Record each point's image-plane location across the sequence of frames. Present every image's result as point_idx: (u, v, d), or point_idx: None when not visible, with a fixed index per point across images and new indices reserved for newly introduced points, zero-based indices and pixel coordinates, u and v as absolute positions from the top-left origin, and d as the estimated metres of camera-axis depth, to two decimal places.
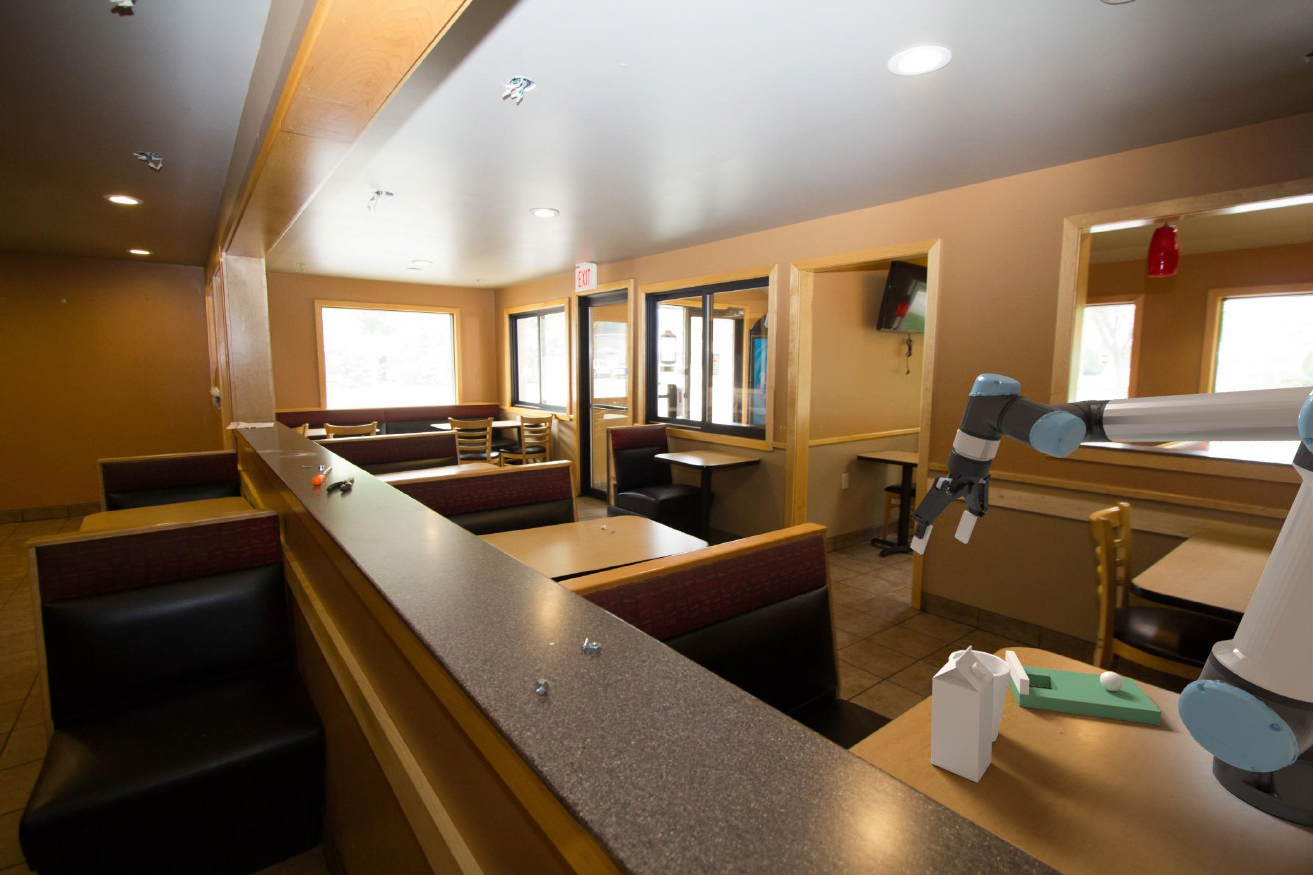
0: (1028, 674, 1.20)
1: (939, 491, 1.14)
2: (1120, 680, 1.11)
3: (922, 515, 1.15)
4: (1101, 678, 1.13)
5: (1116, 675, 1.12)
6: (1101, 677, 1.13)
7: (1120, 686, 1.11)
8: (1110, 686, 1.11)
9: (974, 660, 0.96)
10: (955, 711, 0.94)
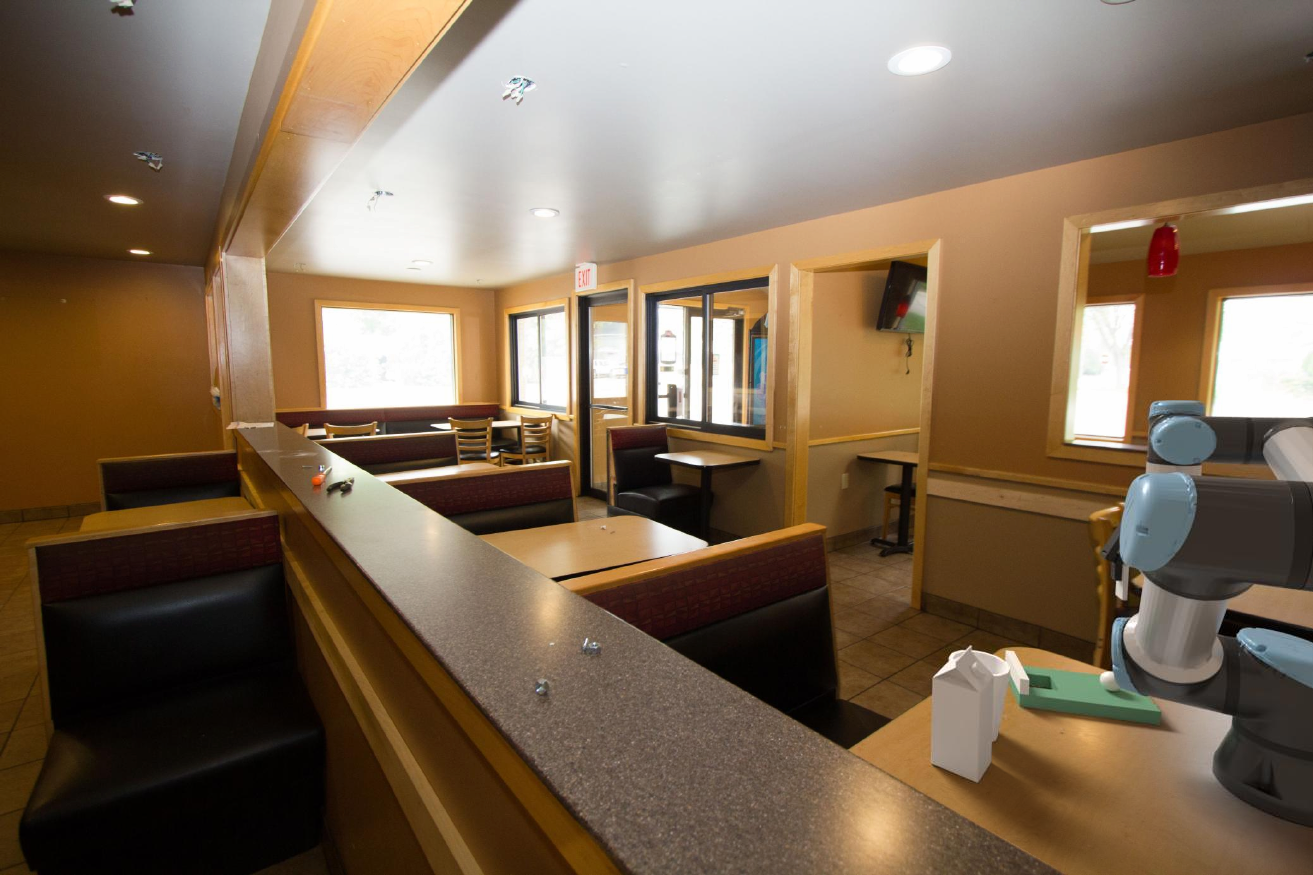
0: (1028, 674, 1.20)
1: None
2: None
3: (1107, 550, 1.10)
4: (1101, 678, 1.13)
5: None
6: (1101, 677, 1.13)
7: None
8: (1110, 686, 1.11)
9: (974, 660, 0.96)
10: (955, 711, 0.94)
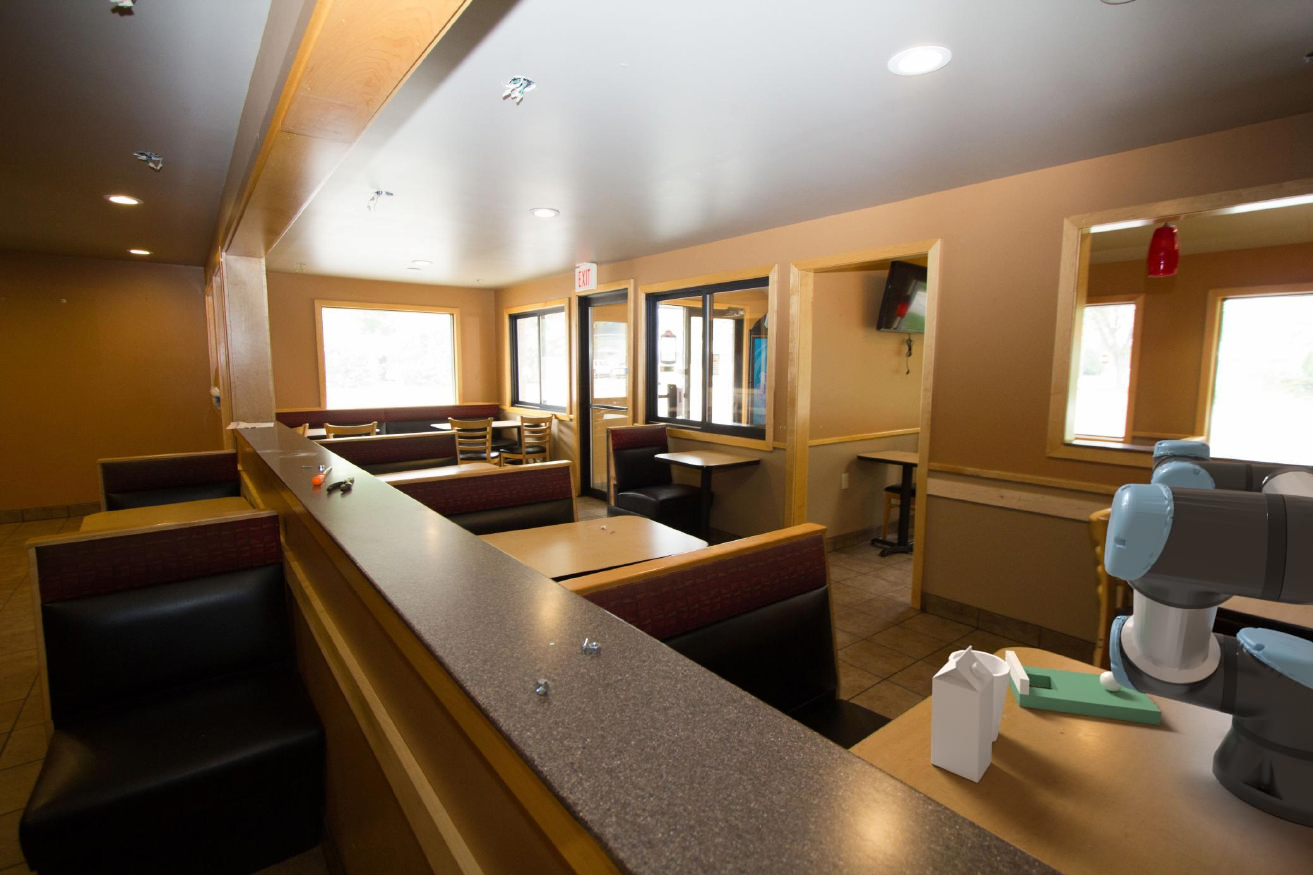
0: (1028, 674, 1.20)
1: None
2: None
3: None
4: (1101, 678, 1.13)
5: None
6: (1101, 677, 1.13)
7: (1120, 686, 1.11)
8: (1110, 686, 1.11)
9: (974, 660, 0.96)
10: (955, 711, 0.94)
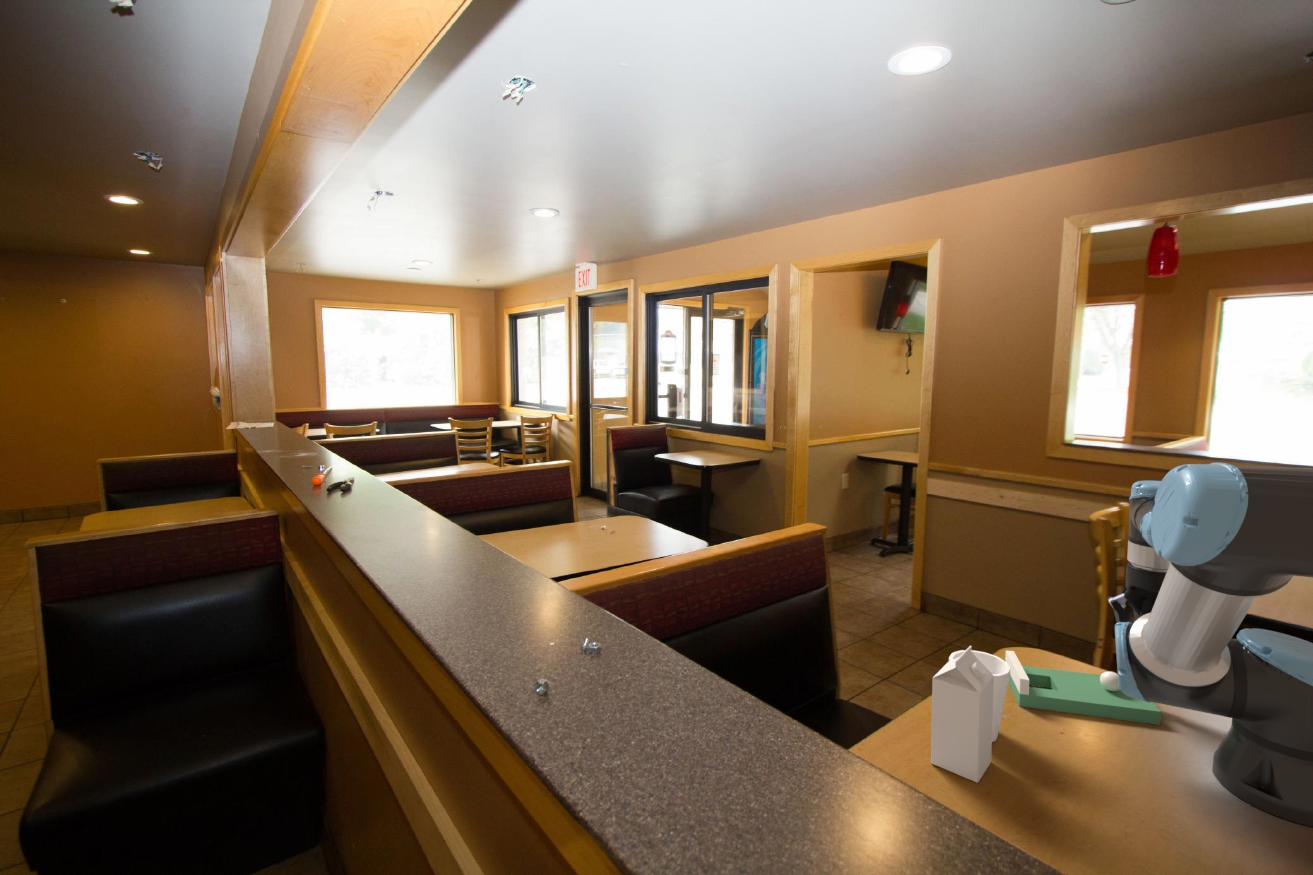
0: (1028, 674, 1.20)
1: (1117, 613, 1.11)
2: None
3: None
4: (1101, 678, 1.13)
5: (1116, 675, 1.12)
6: (1101, 677, 1.13)
7: None
8: (1110, 686, 1.11)
9: (974, 660, 0.96)
10: (955, 711, 0.94)
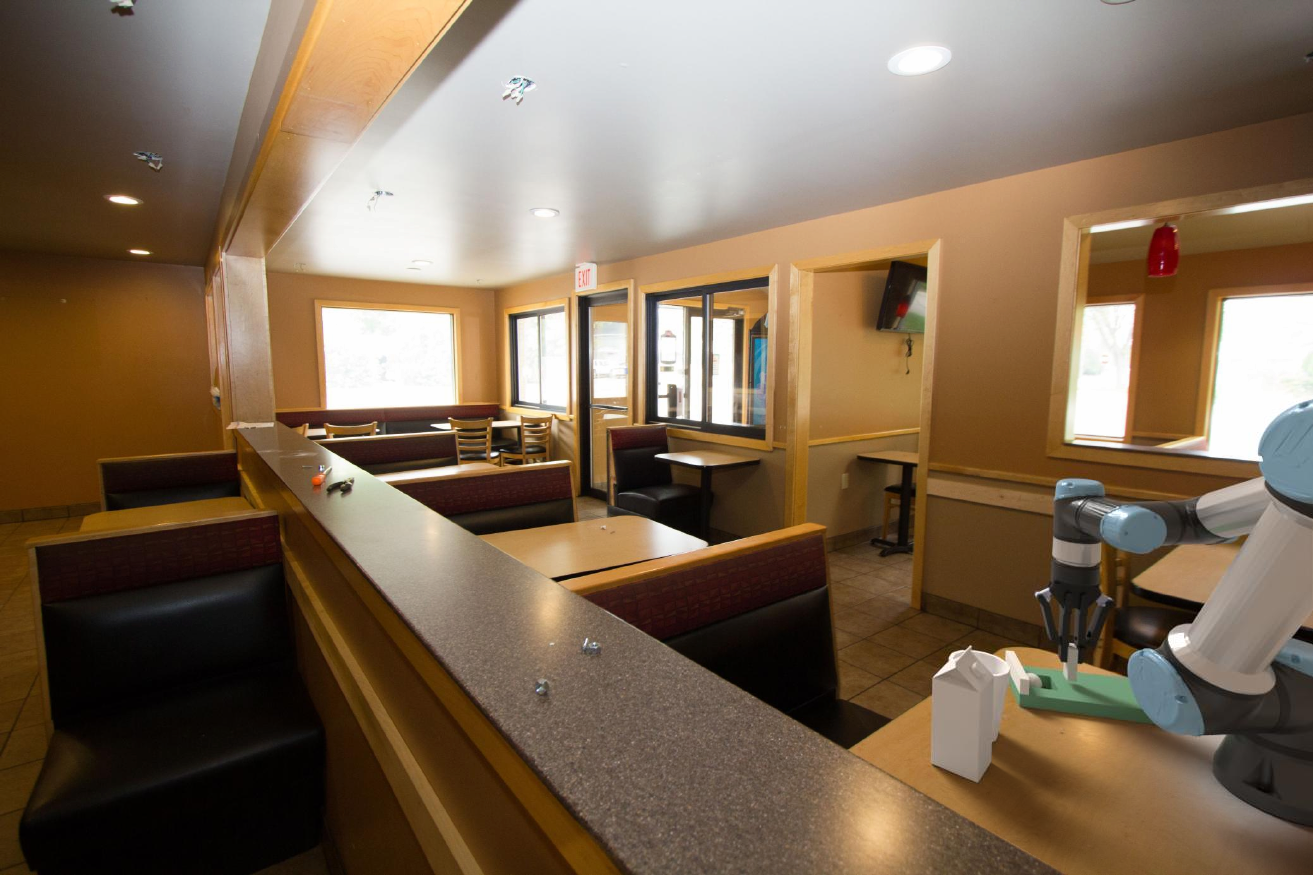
0: None
1: (1042, 606, 1.15)
2: None
3: (1049, 634, 1.15)
4: None
5: None
6: None
7: (1034, 681, 1.16)
8: None
9: (974, 660, 0.96)
10: (954, 711, 0.94)
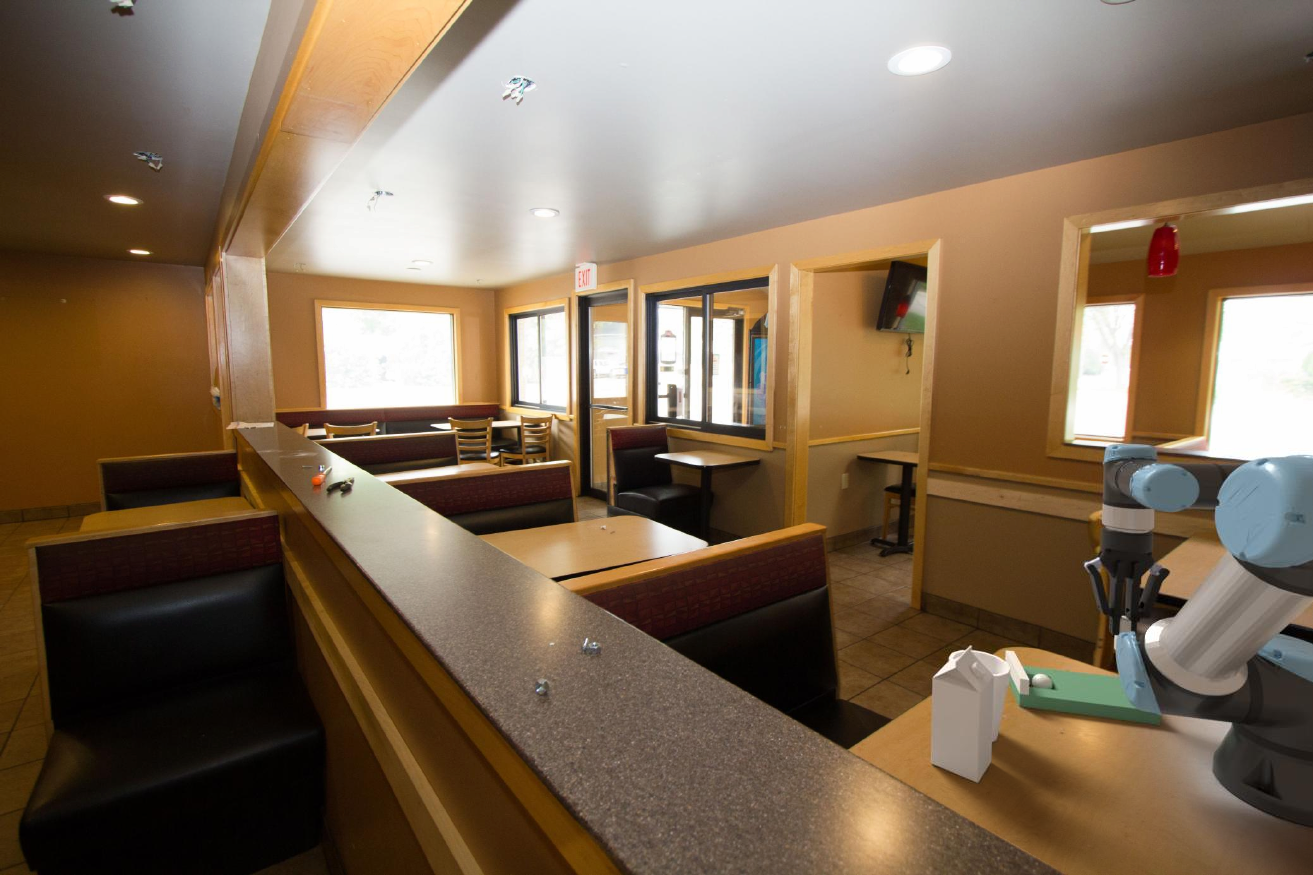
0: (1028, 674, 1.20)
1: (1092, 576, 1.11)
2: (1046, 679, 1.16)
3: (1099, 605, 1.11)
4: (1033, 685, 1.18)
5: (1041, 676, 1.17)
6: (1032, 684, 1.18)
7: (1050, 685, 1.16)
8: None
9: (974, 660, 0.96)
10: (955, 711, 0.94)
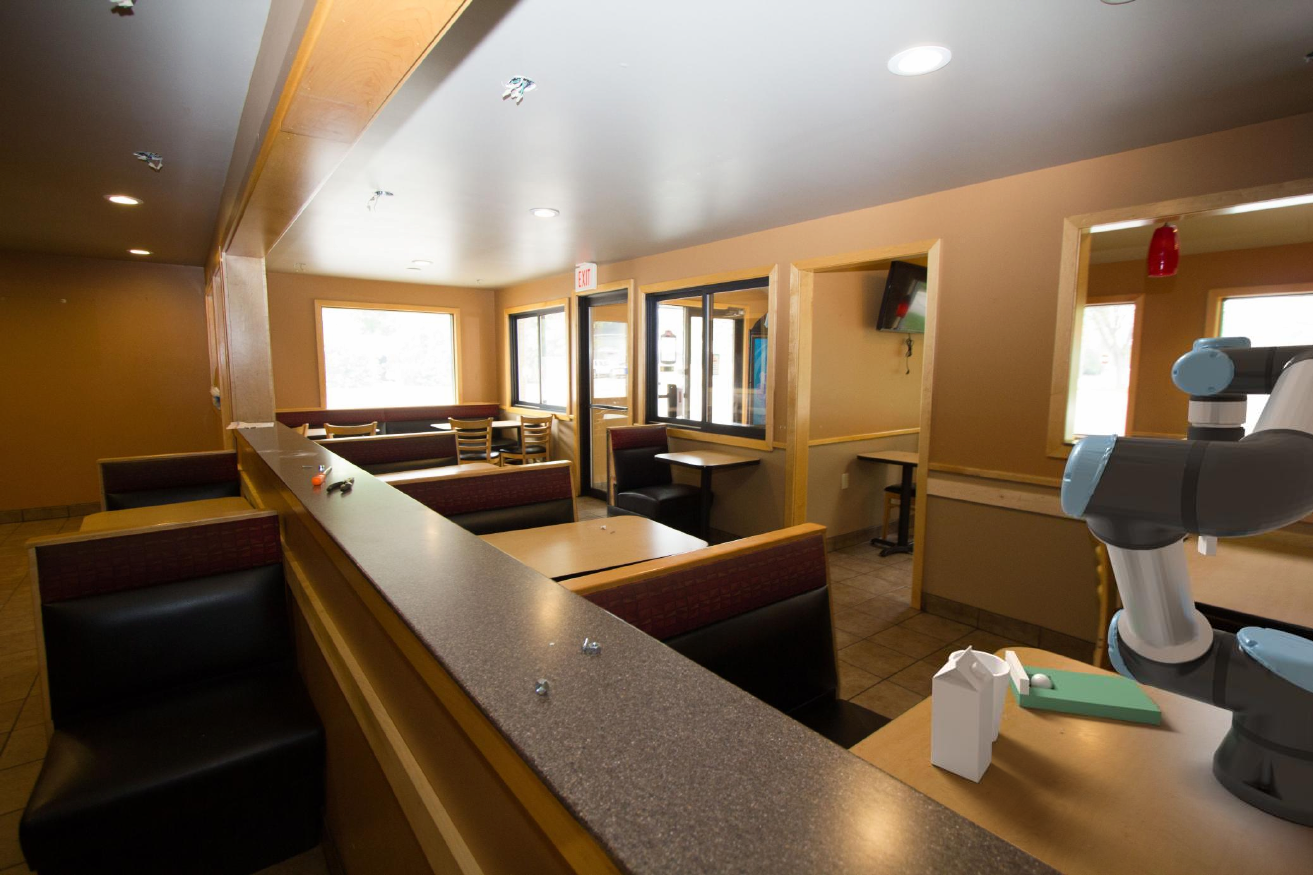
0: (1028, 674, 1.20)
1: None
2: (1045, 679, 1.16)
3: None
4: (1032, 685, 1.18)
5: (1040, 676, 1.17)
6: (1031, 684, 1.18)
7: (1049, 685, 1.16)
8: None
9: (974, 660, 0.96)
10: (955, 711, 0.94)
